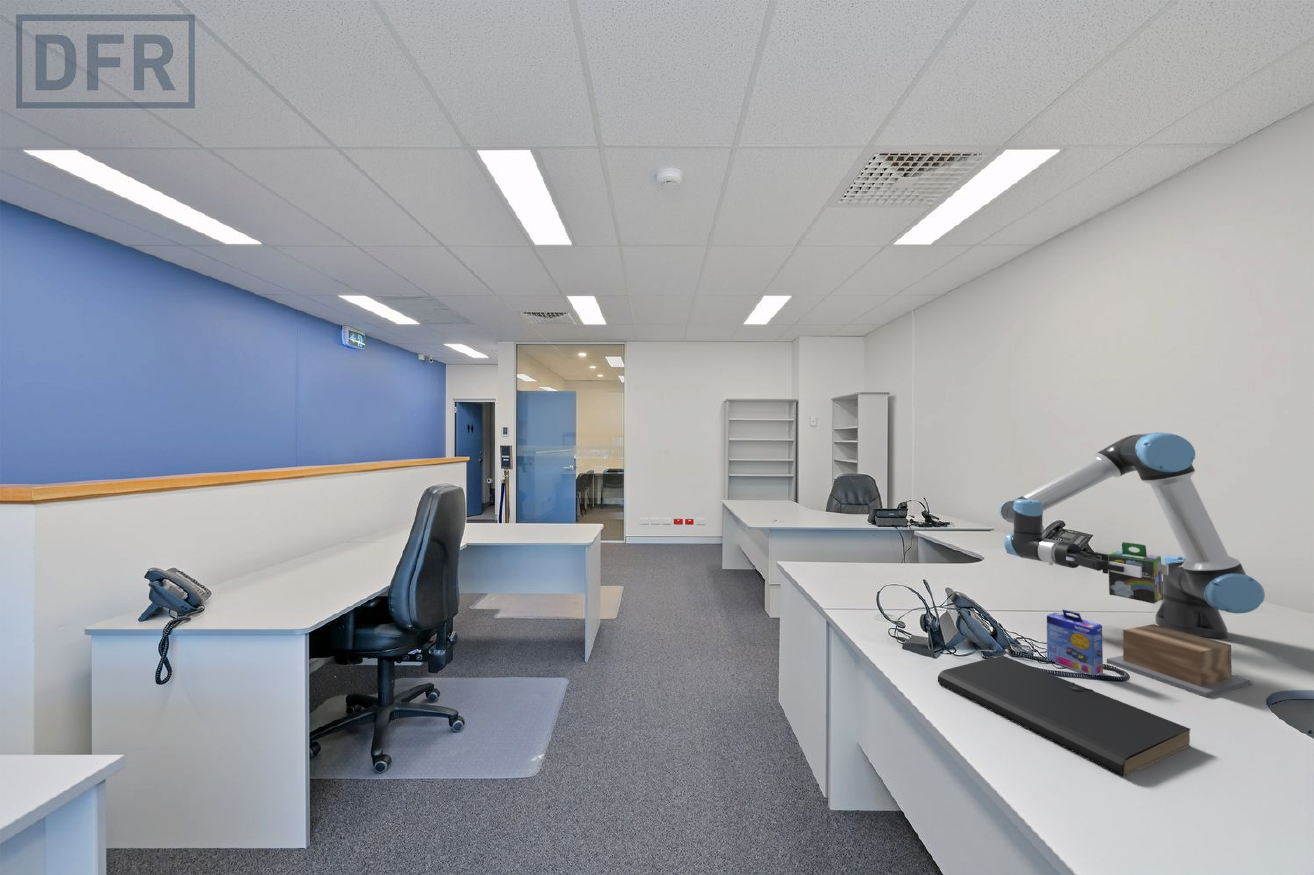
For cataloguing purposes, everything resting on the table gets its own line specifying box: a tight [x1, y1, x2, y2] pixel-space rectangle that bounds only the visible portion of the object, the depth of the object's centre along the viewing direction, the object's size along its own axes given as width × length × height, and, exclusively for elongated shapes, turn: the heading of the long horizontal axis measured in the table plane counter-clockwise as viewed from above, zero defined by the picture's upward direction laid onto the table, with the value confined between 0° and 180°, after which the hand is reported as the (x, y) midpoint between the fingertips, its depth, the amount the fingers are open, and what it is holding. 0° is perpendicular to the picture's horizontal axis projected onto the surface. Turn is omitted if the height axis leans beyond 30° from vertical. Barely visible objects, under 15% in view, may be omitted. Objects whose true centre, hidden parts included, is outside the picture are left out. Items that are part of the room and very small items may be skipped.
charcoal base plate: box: [1106, 655, 1252, 698], centre depth 117 cm, size 20×18×1 cm
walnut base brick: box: [1122, 623, 1233, 687], centre depth 117 cm, size 14×14×8 cm
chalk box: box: [1108, 541, 1163, 604], centre depth 127 cm, size 9×9×15 cm
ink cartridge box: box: [1046, 609, 1104, 676], centre depth 119 cm, size 10×6×14 cm, turn 27°
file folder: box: [937, 655, 1191, 777], centre depth 98 cm, size 33×4×24 cm
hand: (1154, 571), depth 124 cm, fingers closed on chalk box, 11 cm apart
